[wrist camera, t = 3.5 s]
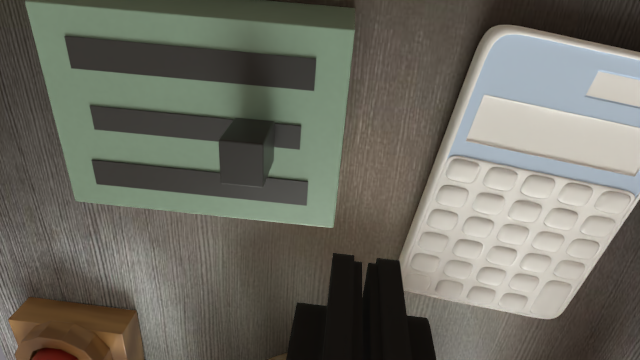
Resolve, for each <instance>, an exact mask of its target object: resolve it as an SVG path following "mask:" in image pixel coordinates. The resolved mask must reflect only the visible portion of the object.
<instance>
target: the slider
mask: <svg viewBox="0 0 640 360" xmlns="http://www.w3.org/2000/svg"><path fill="white" fill-rule="evenodd" d="M274 135H275V122H274V121H267V120H256V119H246V118H235V119H234V120H233V121H232V123H231V124H230V125H229V127H228V128H227V129H226V131H225V132H224V133H223V135H222V136H221V137H220V139H219V140H218V142H219V162H220V181H221V183H222V184H230V185H240V186H250V187H260V188H263V186H264V184H265V181H266V179H267V176H268V174H269V171H270V169H271V167H272V164H273V162H274Z"/></svg>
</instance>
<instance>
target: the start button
mask: <svg viewBox="0 0 640 360" xmlns="http://www.w3.org/2000/svg"><path fill="white" fill-rule="evenodd" d="M31 360H79V359H78V358H77V357H76V356H74V355H72V354H69V353H67V352H65V351H63V350H61V349H54V348H43V349H41V350H39V351H38V352H37V353H36V354H35V356H34V357H33V358H32V359H31Z"/></svg>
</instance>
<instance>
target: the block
mask: <svg viewBox="0 0 640 360" xmlns="http://www.w3.org/2000/svg"><path fill="white" fill-rule="evenodd" d="M8 320H9V323H10V326H11V328H12V331H13V333H14V336H15V339H16V341H17V344H18V348H17V350H16V352H15V357H16V360H31V359H32V358H33V357H34V356H35V354H36V353H37V352H38V351H39V350H41V349H43V348H54V349H61V350H63V351H65V352H67V353H69V354H72V355H74V356H76V357H77V358H78V359H79V360H145V357H144V351H143V345H142V339H141V333H140V327H139V321H138V315H137V311H135V310H128V309H120V308H112V307H104V306H97V305H89V304H81V303H73V302H66V301H58V300H50V299H42V298H35V297H29V298H28V299H27V300H26V301H25V302H24V303H23V304H22V305H21V306H20V308H19V309H18V310H17V311H16V312H15V313H14V314H13V315H12V316H11V317H10V318H9V319H8Z"/></svg>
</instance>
